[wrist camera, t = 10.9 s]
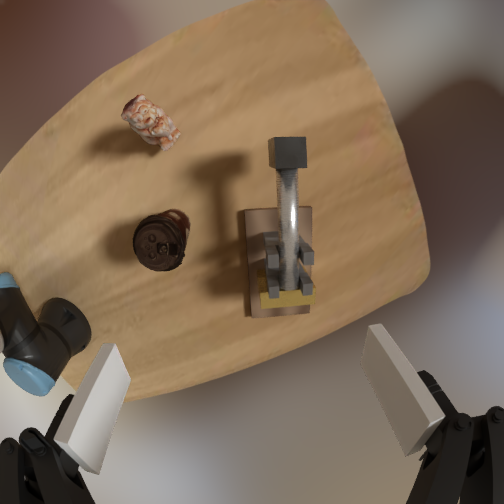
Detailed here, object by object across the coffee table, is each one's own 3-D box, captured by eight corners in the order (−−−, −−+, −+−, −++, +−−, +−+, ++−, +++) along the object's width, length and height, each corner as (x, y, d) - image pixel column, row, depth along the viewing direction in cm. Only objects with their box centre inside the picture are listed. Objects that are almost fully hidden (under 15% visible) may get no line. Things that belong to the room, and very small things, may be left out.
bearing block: (251, 314, 57) (255, 355, 45) (244, 209, 49) (246, 228, 37) (307, 309, 57) (323, 347, 45) (310, 205, 49) (332, 223, 37)
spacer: (257, 284, 53) (261, 308, 44) (256, 269, 52) (260, 292, 43) (303, 280, 53) (315, 303, 44) (303, 266, 52) (315, 288, 43)
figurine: (171, 154, 45) (143, 154, 31) (140, 131, 43) (103, 124, 29) (192, 126, 43) (173, 115, 29) (160, 104, 42) (130, 85, 27)
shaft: (273, 277, 46) (279, 298, 39) (268, 140, 38) (274, 137, 31) (297, 275, 46) (306, 295, 39) (294, 139, 38) (305, 136, 32)
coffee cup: (207, 225, 50) (197, 249, 38) (178, 256, 52) (162, 287, 39) (171, 193, 47) (150, 207, 35) (144, 226, 49) (118, 249, 37)
